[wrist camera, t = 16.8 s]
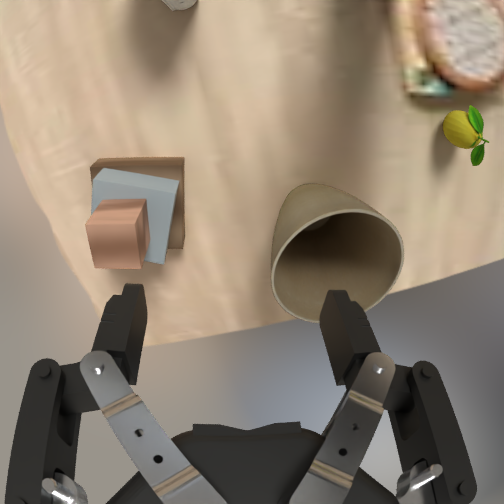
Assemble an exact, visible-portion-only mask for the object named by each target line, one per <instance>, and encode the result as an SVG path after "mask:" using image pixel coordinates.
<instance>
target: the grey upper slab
mask: <svg viewBox="0 0 504 504" xmlns="http://www.w3.org/2000/svg"><path fill="white" fill-rule="evenodd" d="M178 185H179V181H178V180H172V179H167V178H161V177H156V176H150V175H144V174H139V173H133V172H127V171H121V170H114V169H108V168H103V169H102V170H101V171H100V172H99V173H98V174H97V176H96V177H95V178H94V179H93V188H92V209H91V215H92V214H93V212H94V211H95V209H96V208H97V207H98V205H99V204H100V202H101V201H102V200H110V199H146V200H147V211H148V221H149V231H150V239H151V240H150V243H149V246H148V249H147V252H146V255H145V258H144V261H148V262H153V263H159V264H164V262H165V257H166V253H167V248H168V242H169V236H170V230H171V224H172V218H173V212H174V207H175V201H176V196H177V190H178Z"/></svg>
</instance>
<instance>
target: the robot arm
mask: <svg viewBox="0 0 504 504" xmlns="http://www.w3.org/2000/svg"><path fill="white" fill-rule="evenodd" d="M319 323H320V328H321V332H322V335H323V338H324V342H325V346H326V349H327V352H328V356H329V360H330V363H331V367H332V370H333V374H334V377H335V381H336V385H337V386H338V385H346V389H347V390H346V392H345V393H344V396H343V398H342V399H341V401H340V403H339V405H338V407H337V409H336V410H335V412H334V414H333V416H332V418H331V420H330V421H329V423H328V425H327V426H326V428H325V430H324V431H323V433H322V434H321V435H320V434H318V433H316V432H314V431H311V430H308V429H304V428H301V425H300V422H287V423H274V424H270V425H267V426H263V427H260V428H256V429H252V430H242V429H237V428H233V427H228V426H224V425H218V424H217V425H216V424H215V425H214V424H193V430H192V431H187V432H184V433H181V434H179V435H177V436H175V437H173V438H171V439H170V438H169V437H168V435H167V434H166V433H165V431H164V430H163V429H162V427H161V426H160V425H159V423H158V422H157V421H156V419H155V418H154V416H153V415H152V414H151V412H150V411H149V409H148V408H147V407H146V405H145V404H144V402H143V401H142V400H141V398H140V397H139V396H138V395H136V394H135V393H134V391H133V390H132V388H131V387H130V385H136V382H137V376H138V370H139V364H140V358H141V351H142V346H143V341H144V336H145V330H146V325H147V306H146V300H145V293H144V287H143V285H142V284H128V283H126V284H125V286H124V289H123V292H122V295H113V296H112V297H111V298H110V300H109V301H108V302H107V303H106V306H105V309H104V312H103V315H102V318H101V322H100V324H99V328H98V331H97V334H96V337H95V341H94V344H93V348H92V351H91V352H90V353H88V354H86V355H85V356H84V357H83V358H82V360H81V361H80V362H78V363H74V364H68V365H62V366H59V364H58V363H57V362H56V361H55V360H52V359H47V358H46V359H41V360H39V361H37V362H36V363H35V364H34V365H33V366H32V368H31V370H30V374H29V377H28V381H27V384H26V388H25V392H24V396H23V399H22V403H21V407H20V412H19V416H18V420H17V425H16V430H15V434H14V440H13V445H12V450H11V457H10V463H9V469H8V476H7V485H6V494H5V504H88V499H87V495H86V492H85V490H84V489H83V488H82V487H81V486H80V485H79V484H77V483H76V482H75V481H74V477H75V464H76V454H77V445H78V436H79V428H80V421H81V414H82V413H83V412H89V411H95V410H101V411H102V413H103V415H104V417H105V418H106V420H107V422H108V423H109V425H110V427H111V429H112V430H113V432H114V433H115V435H116V437H117V438H118V440H119V441H120V443H121V445H122V446H123V448H124V449H125V451H126V452H127V454H128V455H129V457H130V458H131V460H132V461H133V463H134V464H135V466H136V467H137V468H138V470H139V471H138V472H137V473H136V474H135V475H134V476H133V477H132V478H131V479H130V480H129V481H128V482H127V483H126V484H125V485H124V486H123V487H122V488H121V489H120V490H119V491H118V492H117V493H116V494H115V495H114V496H113V497H112V498H111V499H110V500H109V501H108V502H107V503H106V504H469V503H470V502H471V501H472V500H473V499H474V498H475V495H476V492H477V485H476V480H475V477H474V473H473V470H472V466H471V463H470V459H469V456H468V453H467V450H466V446H465V443H464V440H463V437H462V434H461V431H460V428H459V425H458V422H457V419H456V416H455V414H454V411H453V408H452V405H451V403H450V400H449V397H448V394H447V392H446V389H445V387H444V384H443V381H442V379H441V377H440V374H439V372H438V370H437V368H436V367H435V366H434V365H433V364H431V363H430V362H427V361H419V362H417V363H415V364H414V366H413V367H407V366H401V365H396V364H394V362H393V360H392V359H391V358H390V357H389V356H388V355H386V354H384V353H382V352H381V350H380V347H379V345H378V343H377V340H376V338H375V335H374V333H373V330H372V328H371V327H370V323H369V321H368V320H367V316H366V314H365V312H364V309H363V308H362V307H361V306H360V305H359V304H358V303H357V302H356V301H351V300H350V298H349V295H348V293H347V291H346V290H328V292H327V295H326V298H325V301H324V304H323V307H322V310H321V313H320V318H319ZM384 409H385V410H388V413H389V417H390V421H391V425H392V429H393V433H394V437H395V441H396V445H397V449H398V454H399V458H400V462H401V467H402V471H403V474H402V475H401V476H400V477H399V479H398V482H397V489H396V490H397V494H396V496H394V495H393V494H392V493H391V492H390V491H389V490H387V489H386V488H385V487H383V486H382V485H381V484H380V483H379V482H377V481H376V480H375V479H373V478H372V477H371V476H369V474H367V473H366V472H365V471H364V470H362V469H361V468H360V467H359V466H360V464H361V462H362V460H363V458H364V455H365V453H366V451H367V449H368V447H369V445H370V442H371V440H372V437H373V436H374V433H375V431H376V429H377V426H378V424H379V421H380V419H381V416H382V414H383V411H384Z"/></svg>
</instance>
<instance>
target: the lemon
mask: <svg viewBox="0 0 504 504" xmlns="http://www.w3.org/2000/svg"><path fill="white" fill-rule="evenodd" d="M483 126H484V123H483V119H482V116H481V114H480V113H479V111H478V110H477V109H476V108H474V107H473V106H471V105H470V107H469V113H466V112H464V111H452V112H450V113H449V114H448V115H447V116H446V117H445V119H444V122H443V131H444V135H445V136H446V138H447V139H448V140H449V142H451V143H452V144H453V145H455V146H457V147H460V148H464V149H470V148H474V147H475V148H474V149H473V150H472V152H471V162H472V165H473V166H477V165H479V164H480V163H481V162H482V160H483V157H484V144H485V142H488V143H489V141H487V140H485V139H483V137H482V136H483ZM481 140H483V141H485V142H484V143H483V144H481V145H478V144H479V143H480V142H481ZM477 145H478V146H477Z"/></svg>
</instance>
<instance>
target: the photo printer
mask: <svg viewBox="0 0 504 504" xmlns="http://www.w3.org/2000/svg"><path fill="white" fill-rule="evenodd" d="M162 1H163V2H164V3H165V4H166V5H167V6H168V7H169V8H170V9H171V10H172V11H175V10H185V9H188V8H190V7H191V6H193V5H194V4H195V2H196V0H162Z"/></svg>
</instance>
